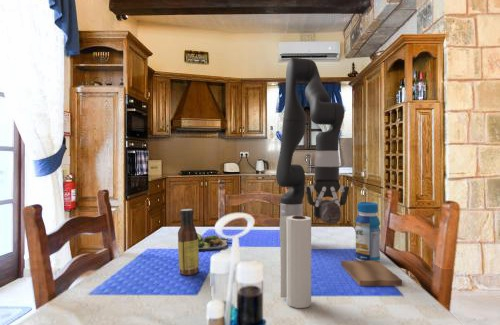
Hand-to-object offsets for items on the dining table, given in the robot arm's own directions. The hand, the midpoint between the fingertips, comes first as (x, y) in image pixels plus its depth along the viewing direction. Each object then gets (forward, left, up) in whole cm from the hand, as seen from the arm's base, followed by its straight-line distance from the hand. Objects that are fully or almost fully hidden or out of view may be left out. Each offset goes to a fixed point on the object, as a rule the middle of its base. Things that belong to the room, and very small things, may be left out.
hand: (326, 218), depth 100 cm
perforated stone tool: (0, 0, -1) cm, 1 cm away
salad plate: (-43, +30, -17) cm, 55 cm away
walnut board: (+12, -4, -17) cm, 21 cm away
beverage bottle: (+17, +10, -17) cm, 26 cm away
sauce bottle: (-44, -1, -17) cm, 47 cm away
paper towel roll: (-13, -22, -17) cm, 31 cm away
